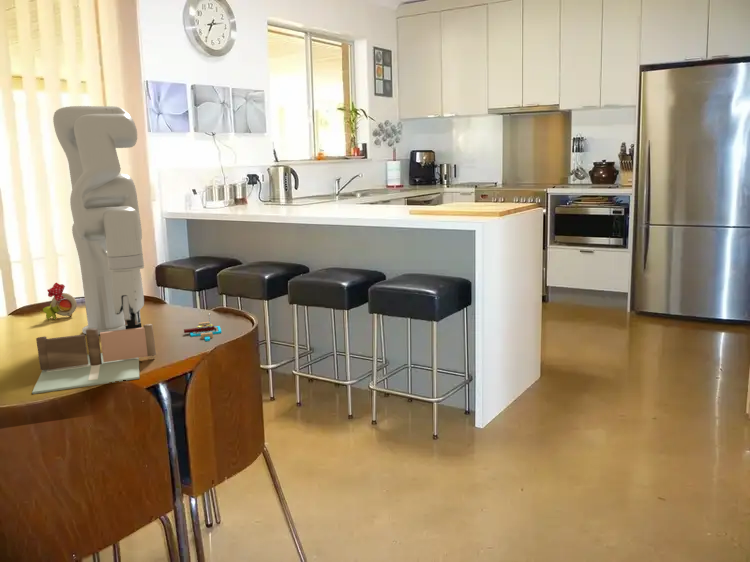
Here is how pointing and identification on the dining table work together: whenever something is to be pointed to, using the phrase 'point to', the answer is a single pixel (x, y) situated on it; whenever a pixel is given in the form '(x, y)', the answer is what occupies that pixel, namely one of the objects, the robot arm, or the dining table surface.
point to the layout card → (87, 375)
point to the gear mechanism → (206, 328)
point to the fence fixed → (69, 350)
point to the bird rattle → (66, 304)
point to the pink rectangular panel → (128, 343)
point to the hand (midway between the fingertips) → (135, 340)
